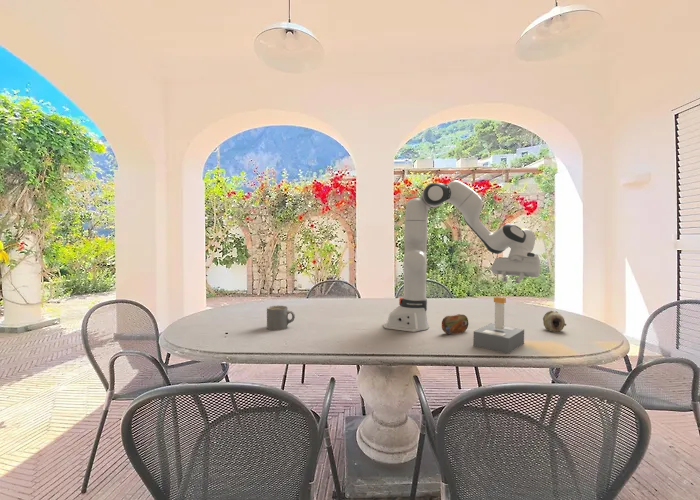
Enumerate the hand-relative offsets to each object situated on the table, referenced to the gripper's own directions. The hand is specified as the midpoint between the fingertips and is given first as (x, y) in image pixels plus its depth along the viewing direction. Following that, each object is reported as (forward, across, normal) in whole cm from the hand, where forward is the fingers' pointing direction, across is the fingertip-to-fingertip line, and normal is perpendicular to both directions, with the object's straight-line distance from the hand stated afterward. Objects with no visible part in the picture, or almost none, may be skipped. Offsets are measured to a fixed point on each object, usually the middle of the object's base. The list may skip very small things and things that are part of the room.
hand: (510, 281), depth 150 cm
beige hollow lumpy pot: (-2, +11, +38) cm, 40 cm away
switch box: (+27, 0, +9) cm, 28 cm away
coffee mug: (+62, -87, -26) cm, 110 cm away
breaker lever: (+22, 0, +4) cm, 22 cm away
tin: (+24, -22, +12) cm, 35 cm away
